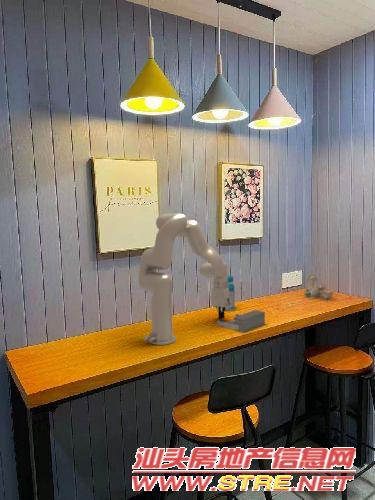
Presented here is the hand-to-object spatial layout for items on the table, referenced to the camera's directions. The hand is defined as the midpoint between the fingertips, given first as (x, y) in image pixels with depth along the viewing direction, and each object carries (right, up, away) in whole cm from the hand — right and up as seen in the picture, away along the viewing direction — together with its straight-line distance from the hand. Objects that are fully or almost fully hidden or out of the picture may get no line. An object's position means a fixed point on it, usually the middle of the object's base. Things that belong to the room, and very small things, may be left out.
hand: (221, 318), depth 201 cm
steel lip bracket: (+9, -2, -9) cm, 13 cm away
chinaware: (+68, +5, +48) cm, 83 cm away
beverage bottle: (+6, +1, +23) cm, 23 cm away
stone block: (+9, -2, -9) cm, 13 cm away
